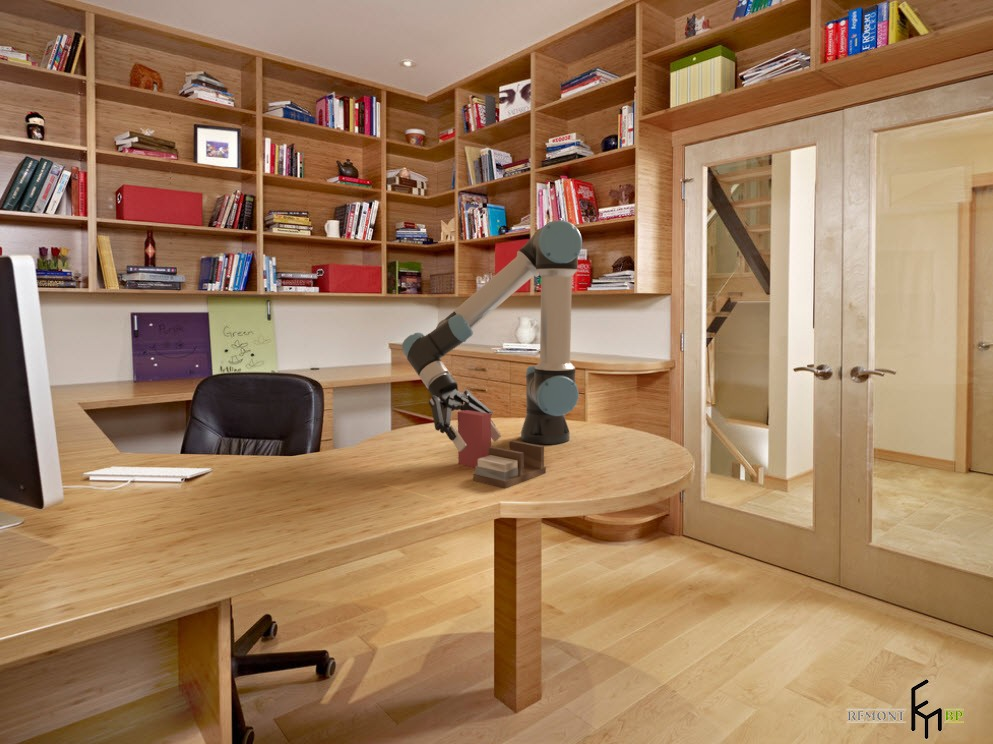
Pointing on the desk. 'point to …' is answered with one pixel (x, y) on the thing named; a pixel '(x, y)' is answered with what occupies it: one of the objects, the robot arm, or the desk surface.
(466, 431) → the book
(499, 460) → the book stand
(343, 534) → the desk surface
